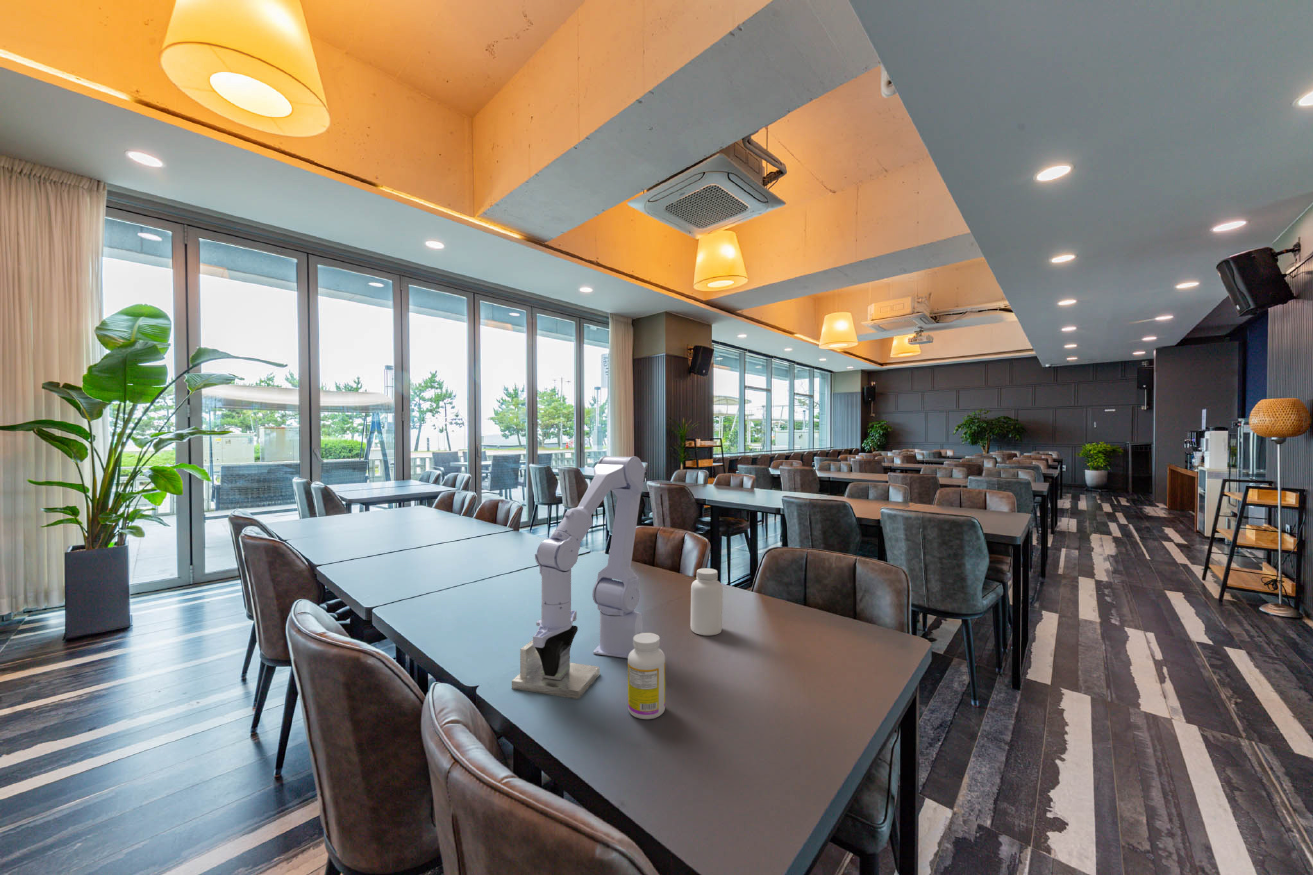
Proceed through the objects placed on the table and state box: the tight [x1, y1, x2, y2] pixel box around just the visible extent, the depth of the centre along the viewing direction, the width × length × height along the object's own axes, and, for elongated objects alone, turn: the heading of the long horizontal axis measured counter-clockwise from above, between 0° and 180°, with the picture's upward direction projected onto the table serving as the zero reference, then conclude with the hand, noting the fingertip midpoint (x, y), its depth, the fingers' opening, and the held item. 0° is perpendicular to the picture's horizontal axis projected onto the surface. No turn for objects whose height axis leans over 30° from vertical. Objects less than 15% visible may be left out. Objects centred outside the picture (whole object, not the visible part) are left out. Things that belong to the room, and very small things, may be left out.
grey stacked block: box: [541, 645, 571, 680], centre depth 95 cm, size 4×4×5 cm
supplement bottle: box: [627, 632, 666, 720], centre depth 85 cm, size 7×7×13 cm
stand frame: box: [511, 639, 601, 700], centre depth 96 cm, size 14×10×7 cm
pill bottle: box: [689, 567, 724, 636], centre depth 122 cm, size 8×8×15 cm
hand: (555, 669), depth 95 cm, fingers closed on grey stacked block, 4 cm apart
